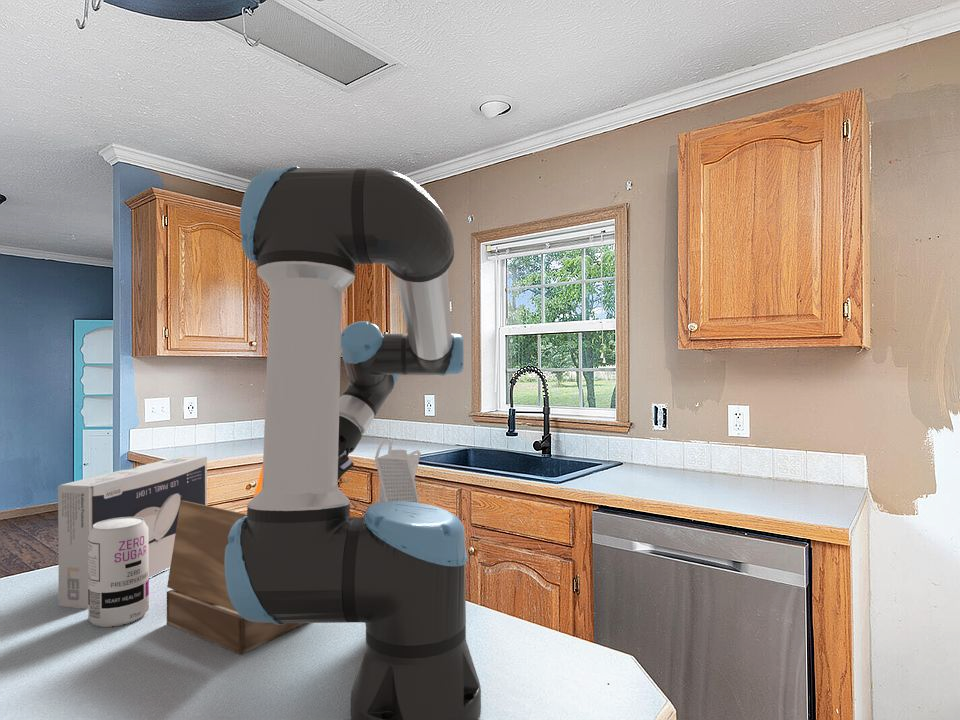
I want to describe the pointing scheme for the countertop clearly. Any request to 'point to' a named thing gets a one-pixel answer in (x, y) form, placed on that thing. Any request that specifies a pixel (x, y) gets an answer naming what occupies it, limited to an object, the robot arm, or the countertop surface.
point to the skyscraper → (397, 475)
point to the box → (220, 623)
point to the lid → (202, 552)
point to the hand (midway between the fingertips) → (271, 537)
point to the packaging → (124, 514)
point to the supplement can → (118, 571)
